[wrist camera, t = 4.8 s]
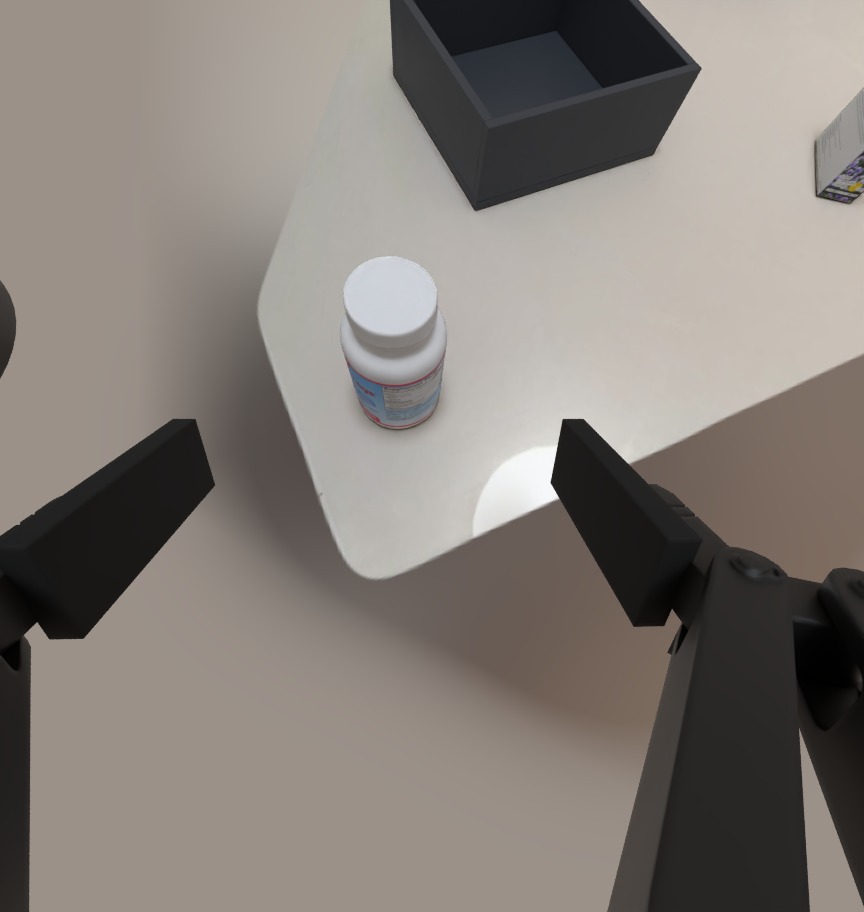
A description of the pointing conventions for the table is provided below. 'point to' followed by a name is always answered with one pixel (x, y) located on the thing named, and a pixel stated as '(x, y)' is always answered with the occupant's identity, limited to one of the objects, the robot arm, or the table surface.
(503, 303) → the table surface
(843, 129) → the ink box
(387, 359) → the pill bottle
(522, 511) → the table surface
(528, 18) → the tray
